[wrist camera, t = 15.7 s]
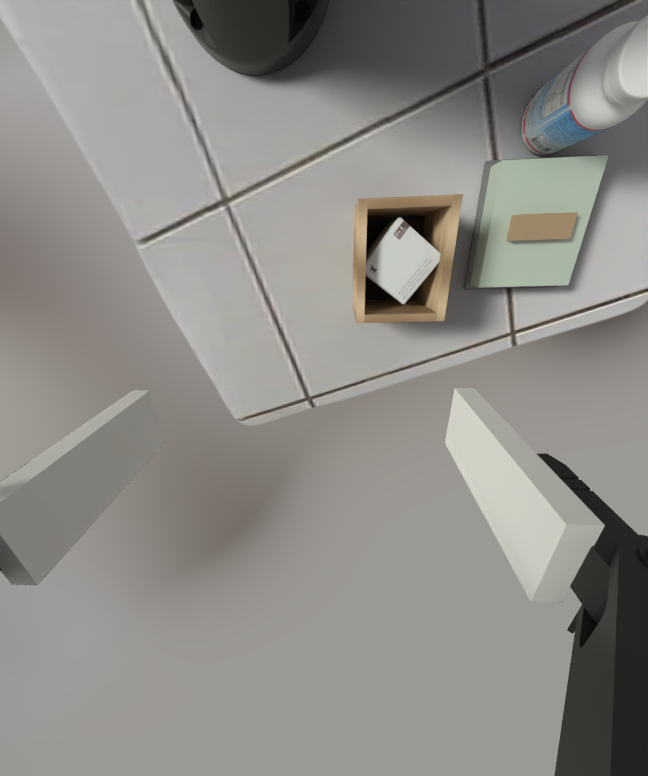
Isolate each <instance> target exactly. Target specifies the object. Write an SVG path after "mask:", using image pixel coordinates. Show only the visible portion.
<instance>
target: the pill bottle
mask: <svg viewBox="0 0 648 776" xmlns="http://www.w3.org/2000/svg"><path fill="white" fill-rule="evenodd" d="M647 100H648V15H647V16H646V17H644V18H643V19H642V20H640V21H633V22H629V23H626V24H623V25H621V26H619V27H617V28H615V29H613V30H612V31H610V32H609V33H607V34H606V35H605V36H603V37H602V38H601V39H600V40H598V41H597V42H596V43H595V44H594V45H592V46H591V47H590V48H589V49H588V50H586V51H585V52H584V53H583V54H581V55H580V56H579V57H578V58H577V59H575V60H574V61H573V62H572V63H570V64H569V65H568V66H567V67H566V68H564V69H563V70H562V71H561V72H559V73H558V74H557V75H556V76H555V77H554V78H552V79H551V80H550V81H549V82H548V83H546V84H545V85H544V86H543V87H542V88H541V89H540V90H539V91H538V92H537V93H536V94H535V95H534V96H533V98H532V99H531V101H530V102H529V104H528V106H527V108H526V110H525V112H524V115H523V119H522V126H521V133H522V138H523V141H524V144H525V145H526V147H527V148H528V149H529V150H530V151H531V152H533V153H535V154H538V155H548V154H552V153H555V152H557V151H560V150H562V149H564V148H566V147H569V146H571V145H573V144H575V143H577V142H579V141H582V140H584V139H586V138H588V137H590V136H593V135H595V134H597V133H599V132H602V131H604V130H606V129H608V128H610V127H613V126H615V125H617V124H618V123H620V122H622V121H624V120H625V119H627V118H628V117H630V116H631V115H632V114H634V113H635V112H636V111H637V110H638V109H639V108H640V107H641V106H642V105H643V104H644V103H645V102H646V101H647Z"/></svg>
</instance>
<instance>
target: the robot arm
mask: <svg viewBox="0 0 648 776" xmlns="http://www.w3.org/2000/svg"><path fill="white" fill-rule="evenodd" d="M173 2H174V4H175V6H176V8H177V10H178V12H179V14H180V15H181V17H182V19H183V20H184V22H185V23H186V25H187V26H188V28H189V29H190V30H191V32H192V33H193V35H194V36H195V38H196V39H197V41H198V42H199V43H200V44H201V46H202V47H203V48H204V49H205V50H206V51H207V52H208V53H209V54H210V55H211V56H212V57H213V58H214V59H216V60H217V61H218V62H220V63H221V64H223V65H224V66H226V67H228V68H230V69H232V70H234V71H236V72H239V73H243V74H247V75H266V74H270V73H274V72H277V71H279V70H281V69H283V68H285V67H287V66H288V65H290V64H291V63H292V62H294V61H295V60H296V59H297V58H298V57H299V56H300V55H301V54H302V53H303V52H304V51H305V50H306V48H307V47H308V46H309V44H310V43H311V41H312V40H313V38H314V37H315V35H316V33H317V31H318V29H319V27H320V25H321V23H322V20H323V18H324V15H325V12H326V9H327V6H328V2H329V0H173ZM165 443H166V440H165V437H164V434H163V431H162V428H161V424H160V422H159V418H158V415H157V412H156V409H155V406H154V403H153V399H152V396H151V393H150V391H149V390H144V391H143V390H139V391H138V390H137V391H131V392H130V393H129V394H127V395H126V396H124V397H123V398H121V399H120V400H118V401H117V402H115V403H114V404H113V405H111V406H110V407H109V408H107V409H105V410H104V411H102V412H101V413H100V414H98V415H97V416H95V417H94V418H93V419H91V420H89V421H88V422H86V423H85V424H84V425H82V426H81V427H79V428H78V429H76V430H75V431H73V432H72V433H71V434H69V435H68V436H66V437H65V438H63V439H62V440H61V441H59V442H58V443H56V444H55V445H53V446H52V447H50V448H49V449H47V450H46V451H45V452H43V453H42V454H40V455H39V456H37V457H36V458H34V459H33V460H31V461H29V462H28V463H26V464H25V465H24V466H22V467H21V468H19V469H18V470H17V471H15V472H13V474H11V475H9V476H8V477H6V478H5V479H3V480H2V481H0V571H1V572H2V573H3V574H4V575H5V577H6V578H7V579H8V580H9V582H10V583H11V584H13V585H38V584H39V583H40V582H41V581H42V580H43V579H44V578H45V577H46V576H47V574H48V573H49V572H50V571H51V570H52V569H53V568H54V567H55V565H56V564H57V563H58V562H59V561H60V560H61V559H62V558H63V557H64V555H65V554H66V553H67V552H68V551H69V550H70V549H71V547H72V546H73V545H74V544H75V543H76V542H77V541H78V540H79V539H80V538H81V536H82V535H83V534H84V533H85V532H86V531H87V530H88V529H89V527H90V526H91V525H92V524H93V523H94V522H95V521H96V519H98V517H99V516H100V515H101V514H102V513H103V512H104V511H105V510H106V508H107V507H108V506H109V505H110V504H111V503H112V502H113V501H114V499H115V498H116V497H117V496H118V495H119V494H120V493H121V492H122V491H123V489H124V488H125V487H126V486H127V485H128V484H129V483H130V482H131V481H132V479H133V478H134V477H135V476H136V475H137V474H138V473H139V471H140V470H141V469H142V468H143V467H144V466H145V465H146V464H147V463H148V461H149V460H150V459H151V458H152V457H153V456H154V455H155V454H156V453H157V451H158V450H159V449H160V448H161V447H162V446H163V445H164V444H165ZM445 444H446V446H447V447H448V449H449V451H450V453H451V455H452V457H453V458H454V460H455V462H456V464H457V466H458V468H459V470H460V471H461V473H462V475H463V477H464V479H465V481H466V483H467V485H468V486H469V488H470V490H471V492H472V494H473V496H474V497H475V499H476V501H477V503H478V505H479V507H480V508H481V510H482V512H483V514H484V516H485V518H486V520H487V521H488V523H489V525H490V527H491V529H492V530H493V533H494V535H495V536H496V538H497V540H498V542H499V544H500V545H501V547H502V549H503V551H504V553H505V555H506V557H507V559H508V560H509V562H510V564H511V566H512V568H513V570H514V572H515V573H516V575H517V577H518V579H519V581H520V582H521V584H522V586H523V588H524V590H525V592H526V594H527V596H528V598H529V599H530V601H531V602H552V603H563V601H564V600H565V598H566V596H567V594H568V592H569V590H570V589H571V588H572V590H573V591H574V593H575V594H576V595H577V597H578V599H579V600H580V602H581V603H582V606H581V607H580V609H579V611H578V612H577V614H576V616H575V617H574V619H573V621H572V622H571V624H570V626H569V628H568V631H569V632H571V633H574V631H575V635H574V642H573V650H572V657H571V664H570V671H569V678H568V685H567V692H566V700H565V707H564V713H563V720H562V728H561V735H560V741H559V748H558V755H557V762H556V769H555V776H648V536H644V535H638V534H637V533H636V532H634V531H633V529H632V528H630V527H629V526H628V525H627V524H626V523H625V522H624V521H623V520H622V519H621V518H620V517H619V516H618V515H617V514H616V513H615V512H614V511H613V510H612V509H611V508H610V507H609V506H607V505H606V503H604V502H603V501H602V500H601V499H600V498H599V497H598V496H597V495H596V494H595V493H594V492H593V491H590V488H589V487H588V486H587V485H586V484H585V483H583V481H582V480H579V479H578V477H577V476H576V475H575V474H574V473H573V472H572V471H571V470H570V469H569V468H568V467H567V466H566V465H565V464H563V463H562V462H560V461H558V460H557V459H555V458H553V457H552V456H550V455H548V454H536V453H535V452H534V451H533V450H532V449H531V448H530V446H529V445H527V443H526V442H525V441H524V440H523V439H522V438H521V437H520V436H519V435H518V434H517V433H516V432H515V431H514V430H513V429H512V428H511V427H510V426H509V425H508V424H507V422H506V421H505V420H504V419H503V418H502V417H501V416H500V415H499V414H498V413H497V412H496V411H495V410H494V409H493V408H492V407H491V406H490V405H489V404H488V403H487V402H486V400H484V398H483V397H482V396H481V395H480V394H479V393H478V392H477V391H476V390H475V389H474V388H455V390H454V396H453V402H452V407H451V413H450V418H449V424H448V429H447V435H446V440H445Z"/></svg>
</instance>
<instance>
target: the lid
mask: <svg viewBox="0 0 648 776" xmlns="http://www.w3.org/2000/svg"><path fill="white" fill-rule="evenodd" d="M608 156H609V155H600V156H580V157H560V158H540V159H520V160H502V161H500V162H499V163H497V164H495V165H493V166H491V169H490V174H489V180H488V186H487V192H486V197H485V203H484V209H483V214H482V220H481V226H480V232H479V237H478V243H477V249H476V254H475V260H474V266H473V272H472V277H471V283H470V285H472V286H475V287H517V286H556V285H569V282H570V278H571V275H572V272H573V269H574V265H575V262H576V259H577V256H578V253H579V249H580V246H581V243H582V240H583V237H584V233H585V230H586V227H587V224H588V221H589V217H590V214H591V211H592V208H593V205H594V201H595V198H596V195H597V192H598V189H599V185H600V182H601V179H602V176H603V172H604V169H605V166H606V163H607V160H608Z"/></svg>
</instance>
